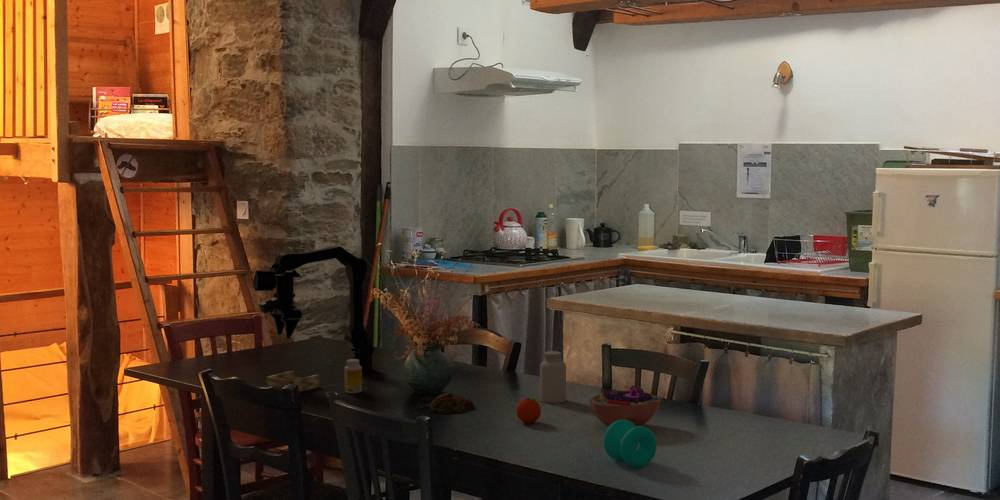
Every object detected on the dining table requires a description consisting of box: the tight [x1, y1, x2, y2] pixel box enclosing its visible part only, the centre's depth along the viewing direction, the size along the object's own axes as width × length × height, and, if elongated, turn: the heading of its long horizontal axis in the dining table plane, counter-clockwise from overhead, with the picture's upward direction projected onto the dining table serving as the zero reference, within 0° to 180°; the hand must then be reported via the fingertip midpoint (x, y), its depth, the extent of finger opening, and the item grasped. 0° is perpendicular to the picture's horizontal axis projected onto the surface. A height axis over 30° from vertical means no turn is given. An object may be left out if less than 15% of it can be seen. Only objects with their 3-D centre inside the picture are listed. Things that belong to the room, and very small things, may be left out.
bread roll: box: [428, 392, 475, 415], centre depth 304 cm, size 13×12×5 cm
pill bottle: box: [539, 350, 567, 405], centre depth 313 cm, size 8×8×15 cm
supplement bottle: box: [343, 358, 363, 394], centre depth 327 cm, size 6×6×10 cm
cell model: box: [589, 385, 662, 427], centre depth 282 cm, size 17×20×11 cm
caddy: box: [265, 370, 320, 393], centre depth 333 cm, size 12×12×4 cm
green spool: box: [603, 420, 658, 469], centre depth 249 cm, size 10×10×10 cm
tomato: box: [515, 397, 544, 424], centre depth 288 cm, size 8×7×7 cm
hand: (283, 336), depth 345 cm, fingers open, 9 cm apart
